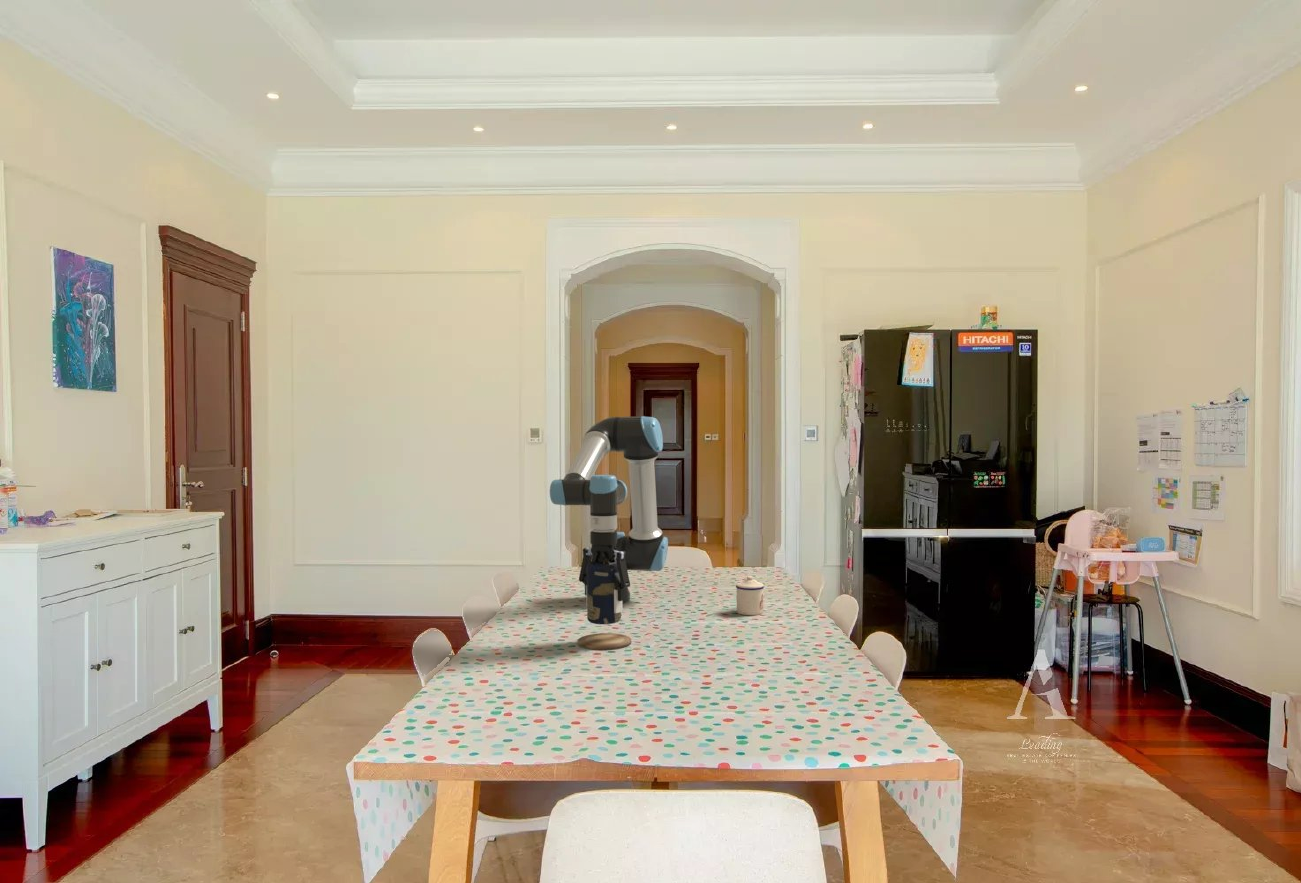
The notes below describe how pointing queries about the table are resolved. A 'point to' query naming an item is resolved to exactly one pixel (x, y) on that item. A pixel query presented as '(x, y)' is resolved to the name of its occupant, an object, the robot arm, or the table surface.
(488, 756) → the table surface
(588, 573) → the canister
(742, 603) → the teacup with lid
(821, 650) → the table surface
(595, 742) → the table surface
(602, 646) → the brown plate
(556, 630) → the table surface
